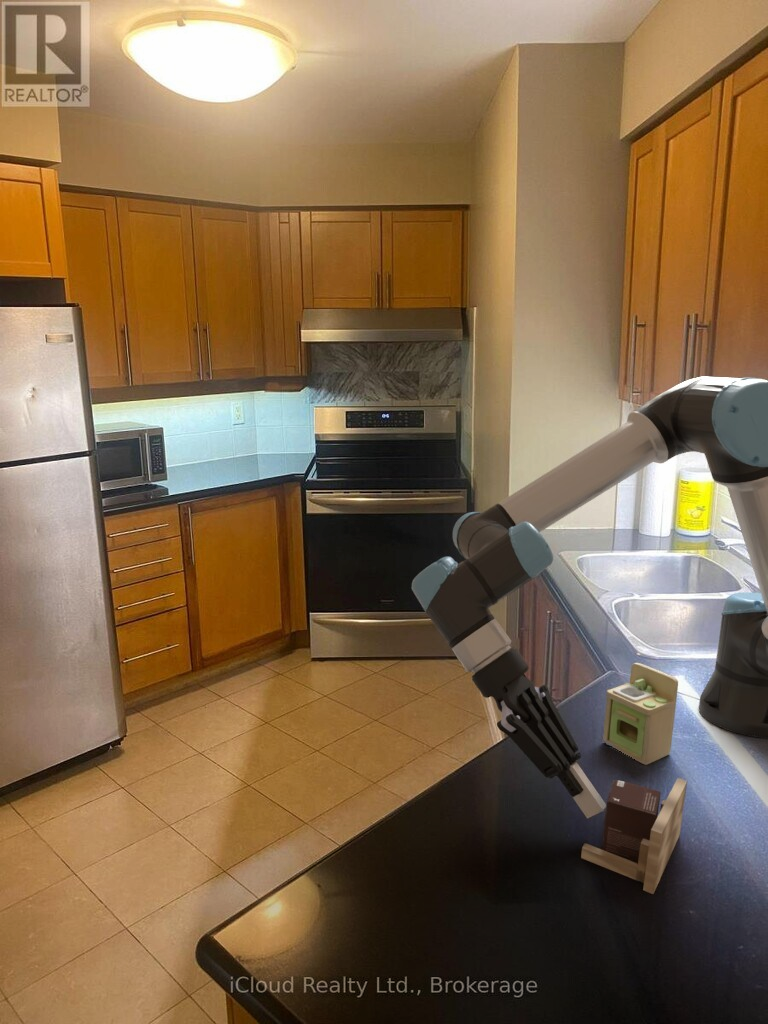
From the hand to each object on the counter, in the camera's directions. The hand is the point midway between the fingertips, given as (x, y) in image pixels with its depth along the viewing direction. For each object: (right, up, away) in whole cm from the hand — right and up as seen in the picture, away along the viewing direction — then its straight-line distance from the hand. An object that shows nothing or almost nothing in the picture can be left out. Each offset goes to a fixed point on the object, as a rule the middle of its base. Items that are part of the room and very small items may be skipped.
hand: (596, 811), depth 98 cm
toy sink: (+13, 0, +24) cm, 28 cm away
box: (+4, -4, -1) cm, 6 cm away
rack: (+3, -4, -1) cm, 5 cm away
